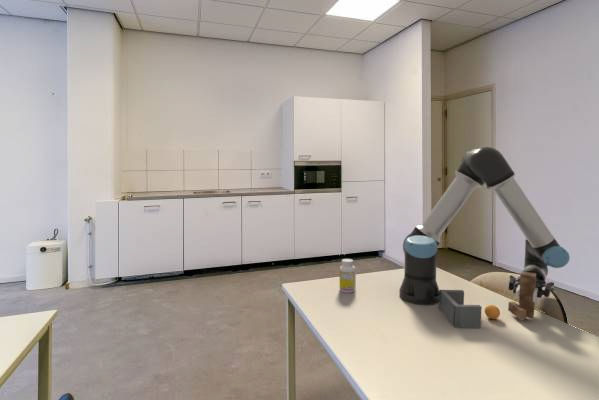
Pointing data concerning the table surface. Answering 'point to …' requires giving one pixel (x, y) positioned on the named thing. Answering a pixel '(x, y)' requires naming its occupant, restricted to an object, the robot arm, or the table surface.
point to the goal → (459, 309)
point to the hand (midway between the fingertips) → (525, 296)
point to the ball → (492, 312)
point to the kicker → (525, 297)
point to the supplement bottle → (347, 276)
